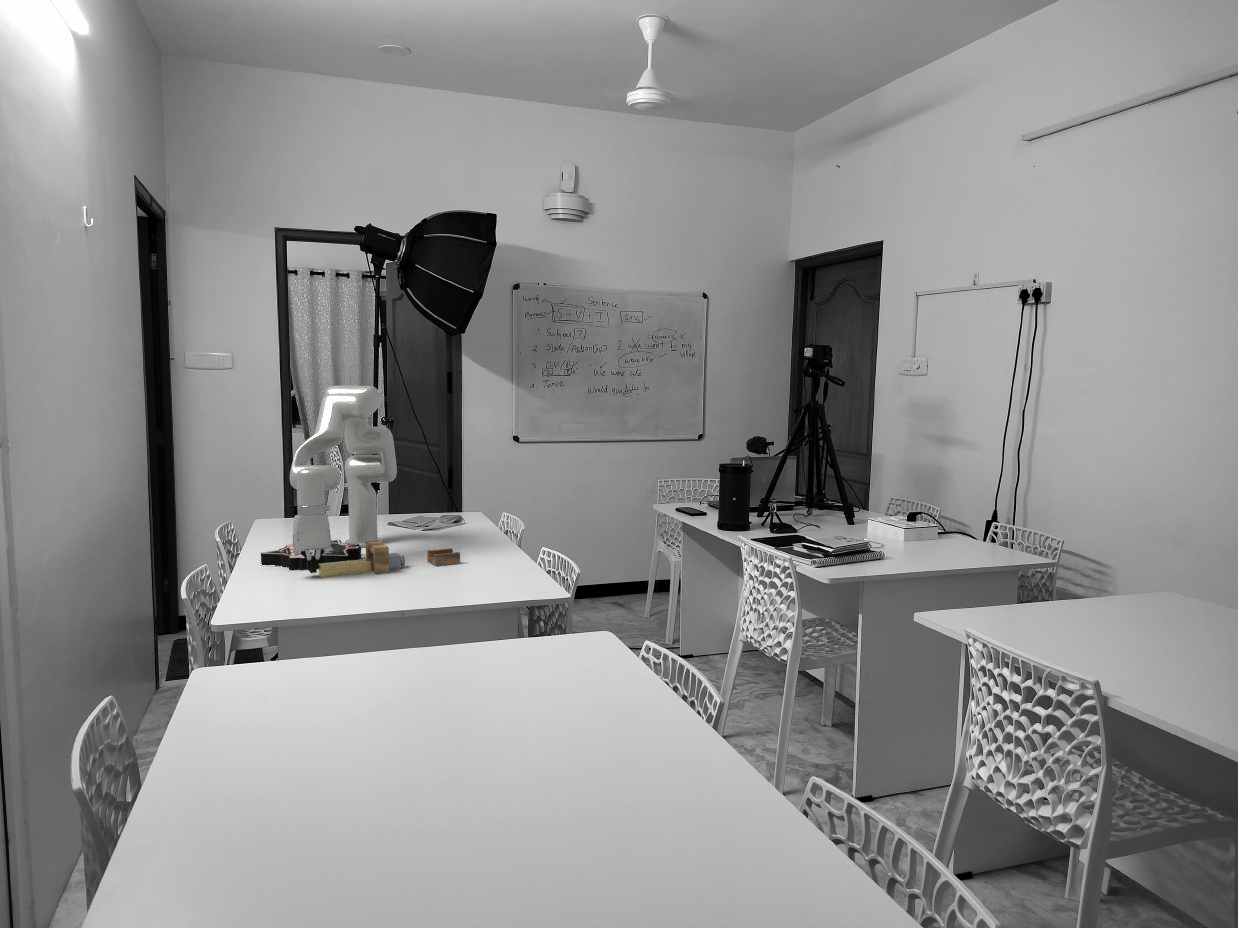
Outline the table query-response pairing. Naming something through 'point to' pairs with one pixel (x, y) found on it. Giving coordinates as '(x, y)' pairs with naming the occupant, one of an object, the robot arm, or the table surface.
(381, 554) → the wooden arch block
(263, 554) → the wall plaque
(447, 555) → the v block
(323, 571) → the bar
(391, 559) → the grey motor
